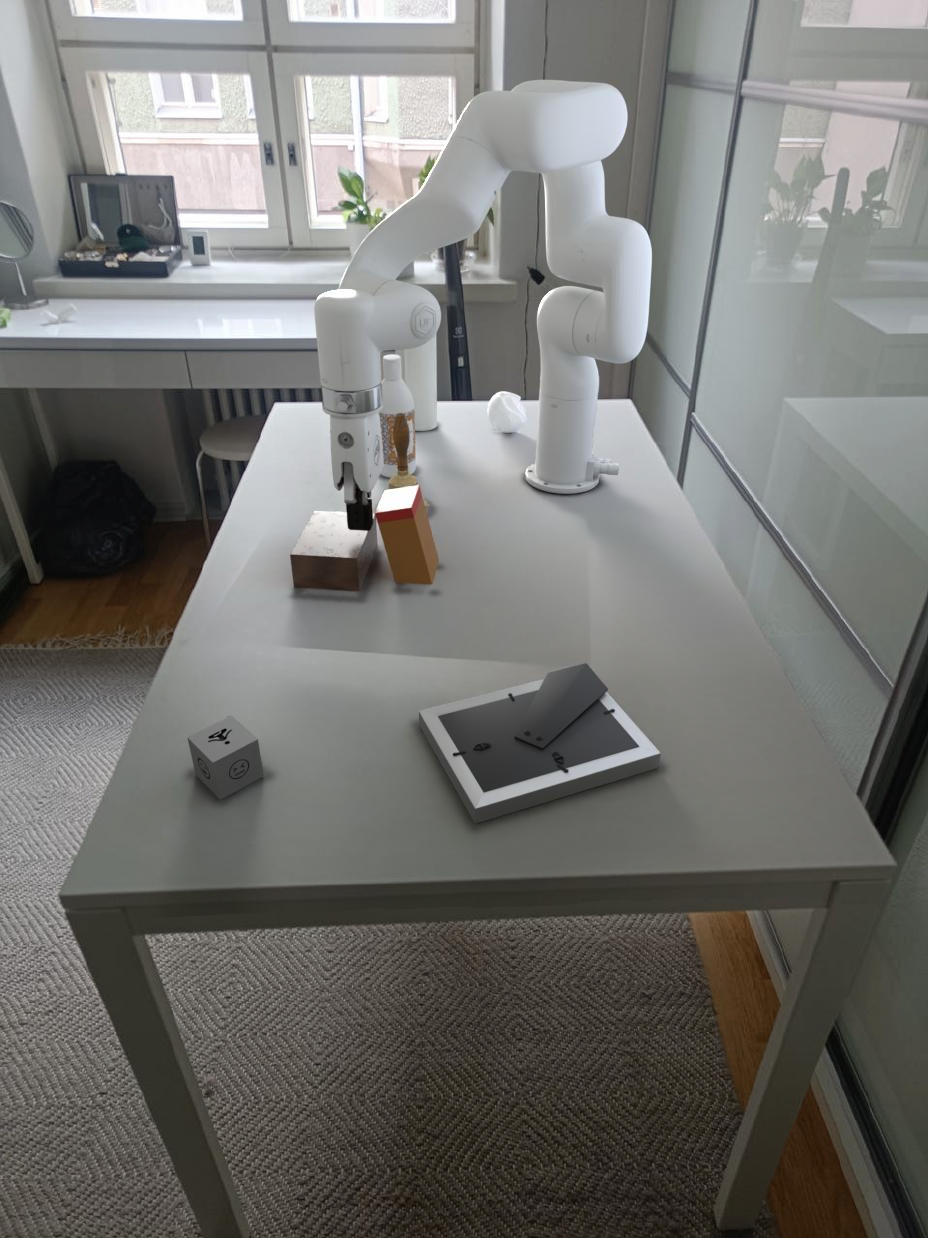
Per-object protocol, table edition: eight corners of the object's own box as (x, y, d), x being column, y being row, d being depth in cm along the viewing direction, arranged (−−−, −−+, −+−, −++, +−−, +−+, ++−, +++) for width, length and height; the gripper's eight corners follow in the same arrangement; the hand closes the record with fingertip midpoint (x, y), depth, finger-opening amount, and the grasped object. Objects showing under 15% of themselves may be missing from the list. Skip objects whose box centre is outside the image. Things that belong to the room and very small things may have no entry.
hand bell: (370, 516, 138) (364, 420, 129) (391, 495, 145) (387, 402, 136) (418, 525, 136) (416, 427, 127) (438, 503, 142) (437, 408, 133)
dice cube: (238, 751, 92) (231, 715, 90) (263, 776, 89) (257, 739, 87) (195, 774, 90) (187, 737, 87) (220, 800, 87) (212, 762, 84)
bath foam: (388, 482, 149) (383, 365, 138) (369, 468, 154) (362, 354, 143) (423, 473, 152) (421, 358, 141) (403, 459, 157) (399, 348, 146)
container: (431, 576, 126) (465, 504, 119) (424, 602, 120) (460, 528, 113) (361, 546, 125) (391, 472, 118) (350, 571, 119) (382, 495, 112)
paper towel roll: (443, 427, 170) (442, 315, 158) (417, 434, 167) (414, 320, 155) (423, 416, 175) (421, 306, 163) (397, 422, 172) (393, 311, 160)
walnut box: (378, 553, 128) (375, 513, 125) (359, 600, 118) (357, 558, 114) (318, 549, 129) (314, 510, 125) (294, 596, 118) (289, 554, 115)
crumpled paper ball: (526, 439, 165) (528, 399, 161) (486, 438, 166) (487, 398, 161) (525, 424, 172) (527, 385, 168) (487, 423, 172) (488, 384, 168)
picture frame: (584, 682, 103) (418, 725, 96) (586, 662, 101) (418, 705, 95) (658, 768, 91) (474, 824, 84) (661, 747, 89) (475, 803, 83)
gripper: (369, 419, 102) (377, 556, 112) (392, 378, 115) (397, 504, 125) (307, 416, 103) (320, 552, 113) (336, 375, 115) (345, 502, 125)
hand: (360, 527), depth 119 cm, fingers closed
